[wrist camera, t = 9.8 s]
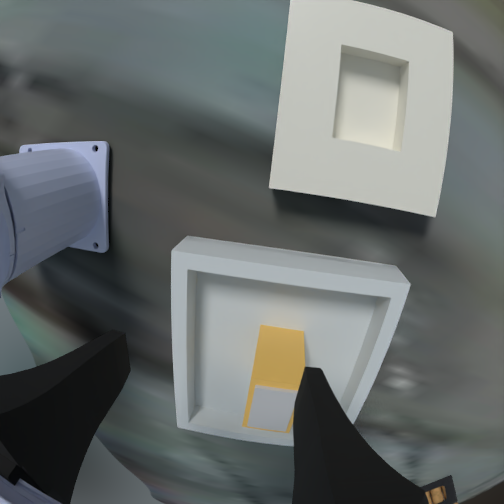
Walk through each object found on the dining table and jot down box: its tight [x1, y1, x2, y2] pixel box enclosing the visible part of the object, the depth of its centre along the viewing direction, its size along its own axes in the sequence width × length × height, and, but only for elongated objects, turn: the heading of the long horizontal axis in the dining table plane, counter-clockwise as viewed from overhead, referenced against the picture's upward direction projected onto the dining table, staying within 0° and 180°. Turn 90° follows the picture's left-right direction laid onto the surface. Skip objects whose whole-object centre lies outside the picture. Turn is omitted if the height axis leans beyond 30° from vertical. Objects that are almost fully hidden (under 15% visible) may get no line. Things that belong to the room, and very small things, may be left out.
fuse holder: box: [269, 0, 453, 217], centre depth 15 cm, size 10×12×2 cm
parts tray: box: [171, 236, 411, 446], centre depth 21 cm, size 14×16×3 cm
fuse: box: [242, 324, 305, 433], centre depth 19 cm, size 3×4×6 cm, turn 172°
